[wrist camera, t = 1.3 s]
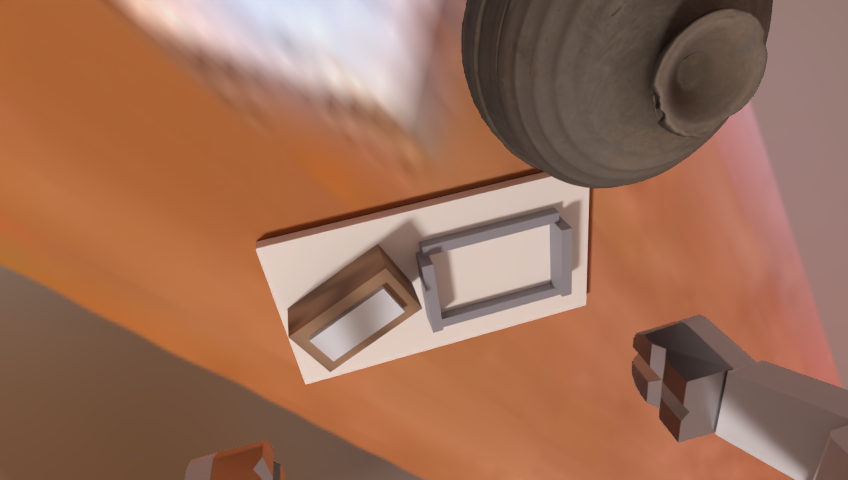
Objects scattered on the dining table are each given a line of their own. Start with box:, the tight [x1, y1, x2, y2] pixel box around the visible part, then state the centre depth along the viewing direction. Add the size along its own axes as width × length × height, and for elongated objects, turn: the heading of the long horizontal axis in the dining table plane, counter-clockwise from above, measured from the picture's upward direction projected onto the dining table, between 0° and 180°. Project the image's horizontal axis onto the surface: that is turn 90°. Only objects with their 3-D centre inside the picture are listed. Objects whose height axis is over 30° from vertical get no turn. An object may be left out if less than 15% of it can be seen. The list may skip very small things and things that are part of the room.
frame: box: [287, 244, 422, 372], centre depth 46 cm, size 10×6×4 cm, turn 123°
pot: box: [462, 0, 773, 188], centre depth 33 cm, size 18×18×20 cm
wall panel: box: [256, 172, 589, 384], centre depth 49 cm, size 30×16×4 cm, turn 98°
